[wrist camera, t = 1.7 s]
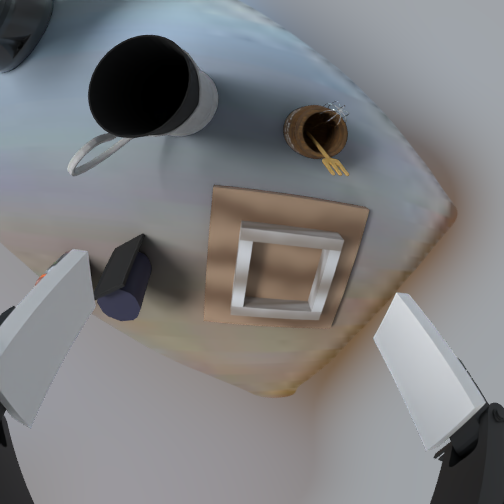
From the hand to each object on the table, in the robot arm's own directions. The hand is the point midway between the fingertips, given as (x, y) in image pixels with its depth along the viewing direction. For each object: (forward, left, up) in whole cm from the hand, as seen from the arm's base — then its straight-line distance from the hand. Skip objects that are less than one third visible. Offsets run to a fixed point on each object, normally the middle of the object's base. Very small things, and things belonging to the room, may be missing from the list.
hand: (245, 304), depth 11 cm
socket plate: (+11, +7, -24) cm, 27 cm away
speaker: (+13, -13, -24) cm, 30 cm away
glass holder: (-7, -10, -24) cm, 27 cm away
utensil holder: (-7, +7, -24) cm, 26 cm away
